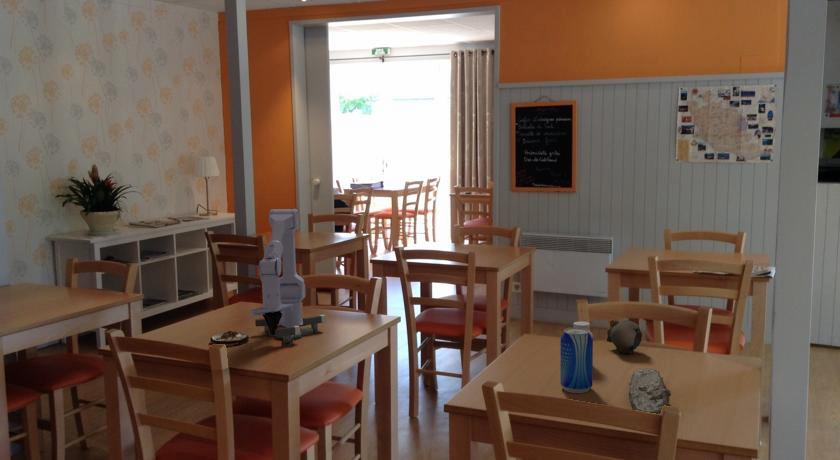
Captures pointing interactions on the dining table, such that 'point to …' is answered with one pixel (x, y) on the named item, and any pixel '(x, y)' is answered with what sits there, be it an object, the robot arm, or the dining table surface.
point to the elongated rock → (648, 391)
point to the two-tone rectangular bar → (287, 332)
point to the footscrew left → (314, 321)
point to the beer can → (576, 360)
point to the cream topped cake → (230, 338)
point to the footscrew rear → (262, 324)
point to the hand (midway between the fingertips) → (273, 334)
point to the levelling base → (302, 332)
